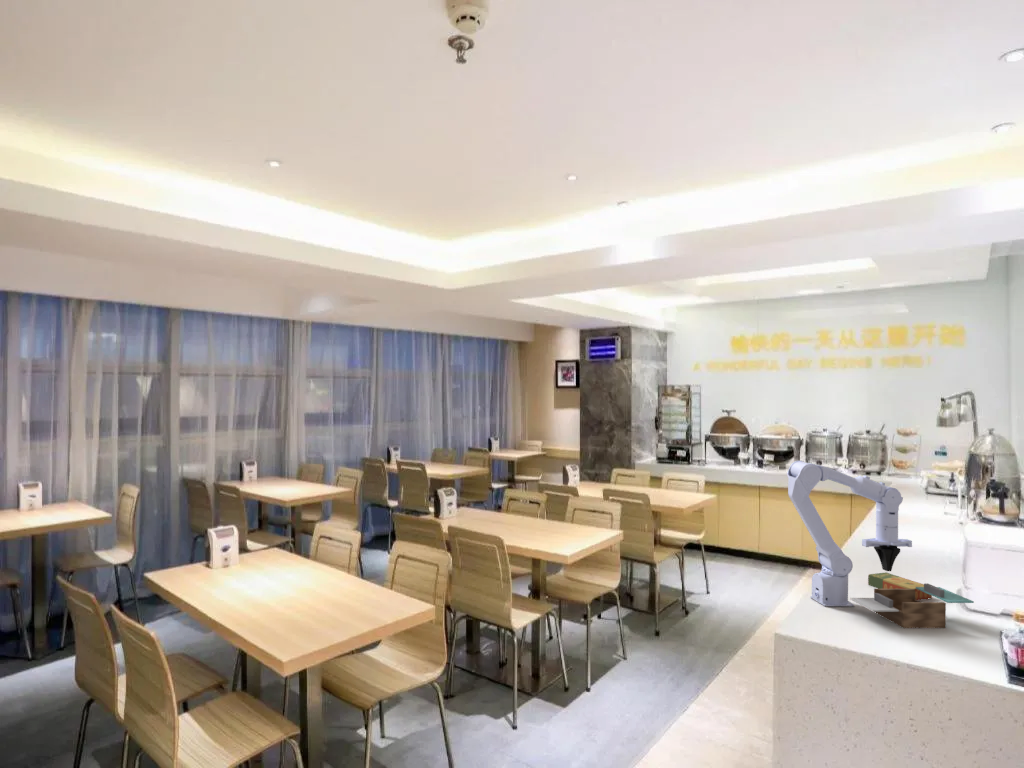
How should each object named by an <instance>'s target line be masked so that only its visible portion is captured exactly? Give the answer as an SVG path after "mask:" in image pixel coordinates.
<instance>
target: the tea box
mask: <svg viewBox="0 0 1024 768" xmlns="http://www.w3.org/2000/svg"><path fill="white" fill-rule="evenodd" d="M873 591H874V592H873V594H874V593H879V594H881V595H883V596H885V597H887V598H889V599H891V600H893V608H895V609H897V610H899V612H876V613H875V614H877V613H878V614H877V615H879V616H880V615H881V617H882V616H883V617H882V618H883V619H886V620H888V621H889V622H891V623H893V624H896V625H897V626H899V627H900V626H901V627H900V628H902V627H903V628H902V629H946V625H947V624H946V615H947V614H946V613H947V612H946V610H947V604H946V603H947V602H945V601H941V602H940V601H924V602H923V601H921V600H916V599H915V589H878V588H873Z"/></svg>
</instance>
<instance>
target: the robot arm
mask: <svg viewBox="0 0 1024 768" xmlns="http://www.w3.org/2000/svg"><path fill="white" fill-rule="evenodd" d="M786 475H787V478H788V479H787V481H788V483H787V487H788V488H787V490H788V491H787V494H788V495H787V496H788V498H789V499H790V501H791V503H792V504H793V506H794V508H795V510H796V512H797V513H798V515H799V516H800V519H801V520H802V522H803V524H804V526H805V527H806V530H807V531H808V532H809V536H810V537H811V539H812V540H813V542H814V544H815V545H816V546H815V550H816V552H817V559H818V562H819V563H820V564H821V571H820V572H816V573H815V572H814V574H813V575H812V577H811V595H810V597H809V598H810V599H813V600H814V601H816V602H817V603H819V605H820V604H821V605H822V606H823V607H855V606H856V604H854V603H853V602H851V601H849V574H850V573H851V572H852V570H853V561H852V560H851V558H850V556H847V555H846V554H845V553H844V552H843V550H842V549H841V547H840V546H839V545H838V544H837V543H836V542H835V541H834V538H833V537H832V535H831V534H830V531H829V530H828V528H827V527H826V524H825V523H824V521H823V519H822V518H821V515H820V514H819V512H818V511H817V509H816V506H815V504H814V503H813V502H812V499H811V498H810V495H811V492H812V490H813V489H814V488H815V487H816V486H817V485H818V483H819V482H820V481H821V482H825V481H827V480H829V481H832V482H833V483H834V482H835V483H838V484H841V485H843V486H846V487H849V488H850V491H851V492H852V493H853V494H855V495H858V496H861V497H863V498H866V499H868V500H871V501H873V502H875V537H873V538H862V540H861V545H862V547H865V548H870V547H873V549H874V550H875V552H876V553H877V554H876V555H878V558H879V561H880V564H881V568H882V570H884V572H892V570H893V566H894V563H895V561H896V559H897V557H898V555H900V554H901V548H900V547H907V548H912V547H913V541H912V540H910V539H908V538H899V511H900V509H899V507H900V505H901V504H902V503H903V500H904V499H903V498H904V497H903V496H902V494H901V492H900V491H899V489H897V488H895V487H891V486H888V485H885V484H886V483H885V482H882V481H879V482H877V481H875V480H873V479H871V477H870V476H868V475H864V474H863V475H858V476H855V477H853V476H851V475H848V474H845V473H843V472H841V471H839V470H836V469H833V468H831V467H829V466H825V465H821V464H818V463H817V464H816V463H810V462H805V461H803V460H795V461H793V462H792V463H791V464H790V466H789V468H788V469H787V472H786Z"/></svg>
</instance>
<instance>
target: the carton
mask: <svg viewBox="0 0 1024 768" xmlns="http://www.w3.org/2000/svg"><path fill="white" fill-rule="evenodd" d="M867 583H868V586H870V587H873V588H874V589H915V599H916V600H918V601H922V600H921V599H926V600H929V599H928V598H931V599H932V597H933V596H932V595H929V594H927V593H925V592H923V591H920V590H918V589H916V587H924V584H925V583H921V582H917V581H914V580H911V579H908V578H905V577H901V576H899V575H895V574H892V573H890V572H888V571H884V572H879V573H878V572H876V573H869V574H868V578H867Z"/></svg>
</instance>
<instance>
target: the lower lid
mask: <svg viewBox="0 0 1024 768" xmlns="http://www.w3.org/2000/svg"><path fill="white" fill-rule="evenodd" d="M849 599H850V600H851V601H853V602H854V603H856V604H858V605H860V606H862V607H864V608H866V609H867V610H869V611H871V612H873V613H875V612H899V610H897V609H895V608H893V600H891V599H889V598H887V597H885V596H883V595H881V594H879V593H874V592H873V597H850V598H849Z"/></svg>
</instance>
